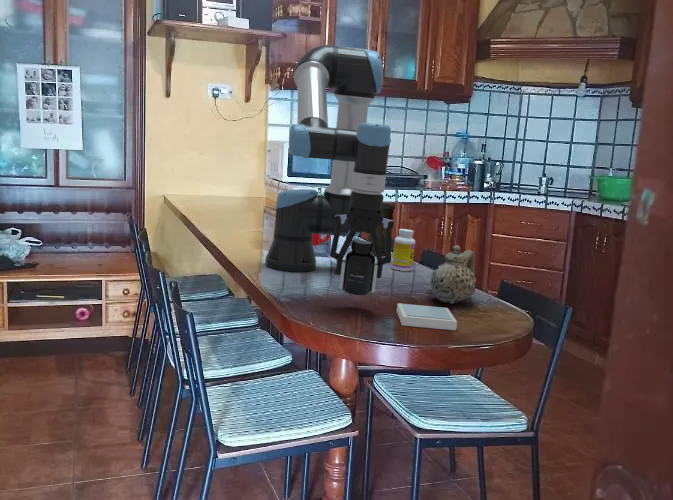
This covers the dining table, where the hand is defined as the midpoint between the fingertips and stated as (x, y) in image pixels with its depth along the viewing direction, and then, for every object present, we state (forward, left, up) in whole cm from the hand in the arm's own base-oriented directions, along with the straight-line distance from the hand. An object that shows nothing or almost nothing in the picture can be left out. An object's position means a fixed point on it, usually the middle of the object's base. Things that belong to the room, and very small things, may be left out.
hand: (356, 289), depth 153 cm
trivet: (+16, -5, -5) cm, 17 cm away
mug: (-12, +92, -5) cm, 93 cm away
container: (+11, +81, -5) cm, 82 cm away
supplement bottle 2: (+17, +56, -5) cm, 59 cm away
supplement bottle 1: (0, 0, -1) cm, 1 cm away
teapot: (+26, +17, -5) cm, 32 cm away
